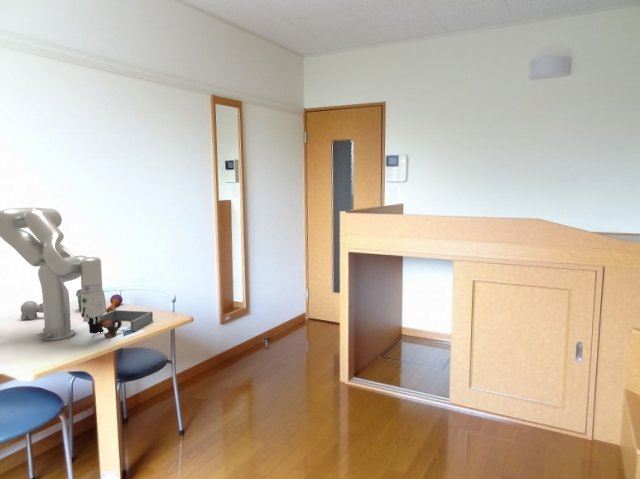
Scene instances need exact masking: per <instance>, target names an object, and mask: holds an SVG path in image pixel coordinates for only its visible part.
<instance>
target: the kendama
mask: <svg viewBox="0 0 640 479" xmlns="http://www.w3.org/2000/svg"><path fill="white" fill-rule="evenodd" d="M109 301H110V306H108V307H106V312H105V313H108V312H110V311H113V310H115V307H119V306H120V305H121V304H122V303H123V296H122V295H121V294H118V293H117V294H113V295H112V296H111V297H110V299H109Z"/></svg>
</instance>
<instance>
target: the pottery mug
mask: <svg viewBox="0 0 640 479" xmlns="http://www.w3.org/2000/svg"><path fill="white" fill-rule="evenodd" d="M116 323H117V326H116ZM122 324H123V323H122V321H121V320H119V319H115V320H113V321H109V320H108V318H105V319H103V320H101V321H100V322H99V332H100V334H102V333H104V331H105V330H104V329H106V330H107V332H106V333H104V337H105V339H106V338H107V339H109V338H111V337H115V336H117V335H116V334H117V332H118V330H120V329H121V327H122ZM103 328H104V329H103ZM99 332H98V333H99ZM101 332H102V333H101Z"/></svg>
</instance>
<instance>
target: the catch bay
mask: <svg viewBox="0 0 640 479" xmlns="http://www.w3.org/2000/svg"><path fill="white" fill-rule="evenodd" d="M105 318H108V320H109V321H113V320H115V319H119V320H120V321H121V322H122V321H123V322H125V321H126V322H130V331H131V330H132V331H134V332H136V331H139V329H142V328H144V327H145V326H147V325H148V324H151V323H152V322H154V321H153V320H154V319H153V311H141V310H122V309H121V310H120V309H119V310H118V309H114V310H113V311H110V312H108V313H107V312H105V313H104V314H103V315H102V316H101V317H100V321H101V320H103V319H105Z"/></svg>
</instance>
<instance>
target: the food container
mask: <svg viewBox="0 0 640 479" xmlns="http://www.w3.org/2000/svg"><path fill="white" fill-rule="evenodd" d="M81 295H82V288H80V289H77V290H76V293H75V297H77V304H78V310H79V312H81Z"/></svg>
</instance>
